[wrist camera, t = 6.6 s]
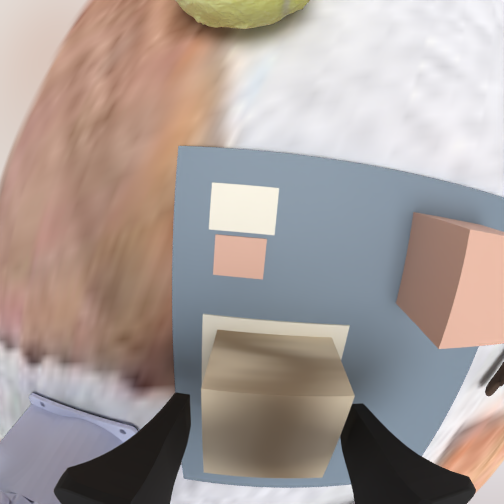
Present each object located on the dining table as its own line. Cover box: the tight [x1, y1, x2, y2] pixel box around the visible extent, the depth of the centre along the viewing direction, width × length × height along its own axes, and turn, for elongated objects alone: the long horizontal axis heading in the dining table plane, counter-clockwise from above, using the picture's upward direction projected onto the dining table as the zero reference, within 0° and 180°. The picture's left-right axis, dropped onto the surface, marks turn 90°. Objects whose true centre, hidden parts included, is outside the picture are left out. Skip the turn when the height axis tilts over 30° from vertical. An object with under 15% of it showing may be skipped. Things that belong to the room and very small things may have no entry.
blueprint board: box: [172, 146, 504, 488], centre depth 15 cm, size 18×22×1 cm
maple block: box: [201, 330, 355, 478], centre depth 13 cm, size 6×6×4 cm
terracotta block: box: [396, 212, 504, 349], centre depth 11 cm, size 4×4×4 cm
